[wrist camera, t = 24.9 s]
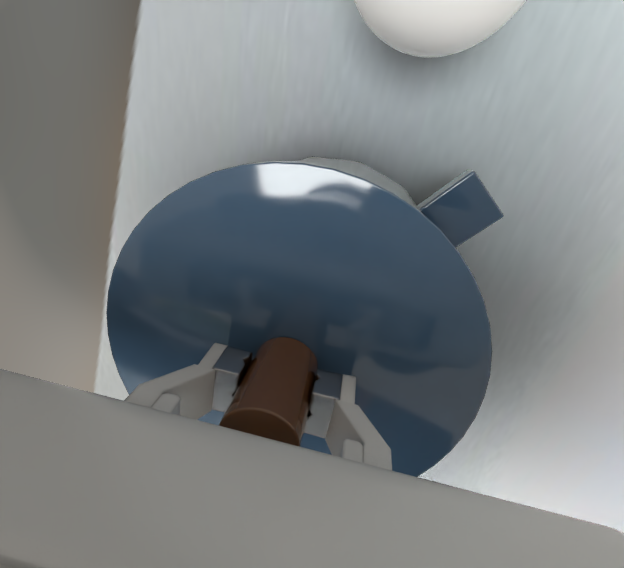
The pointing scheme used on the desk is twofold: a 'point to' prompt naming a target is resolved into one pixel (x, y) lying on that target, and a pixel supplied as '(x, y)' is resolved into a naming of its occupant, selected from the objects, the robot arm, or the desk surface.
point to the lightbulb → (435, 23)
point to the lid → (307, 304)
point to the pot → (438, 200)
